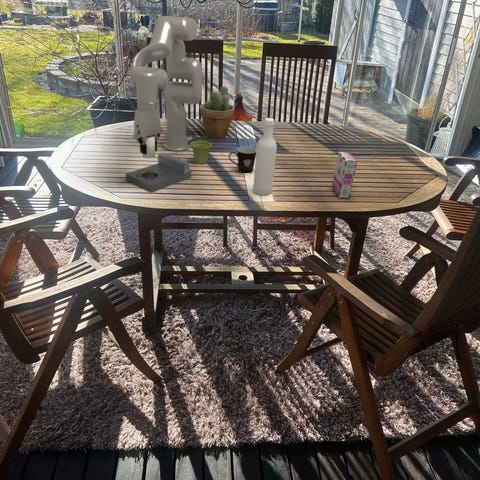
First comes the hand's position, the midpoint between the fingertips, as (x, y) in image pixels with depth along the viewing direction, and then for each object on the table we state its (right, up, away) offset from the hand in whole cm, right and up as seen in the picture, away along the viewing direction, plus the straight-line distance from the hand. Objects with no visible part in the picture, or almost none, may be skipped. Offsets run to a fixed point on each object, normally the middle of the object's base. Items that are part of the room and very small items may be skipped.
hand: (148, 151), depth 182 cm
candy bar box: (+79, -16, +10) cm, 81 cm away
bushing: (0, -2, +1) cm, 2 cm away
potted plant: (+23, +22, +68) cm, 75 cm away
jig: (+2, -10, +11) cm, 14 cm away
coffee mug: (+37, -4, +25) cm, 45 cm away
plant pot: (+18, +1, +31) cm, 36 cm away
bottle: (+46, -15, +7) cm, 49 cm away
